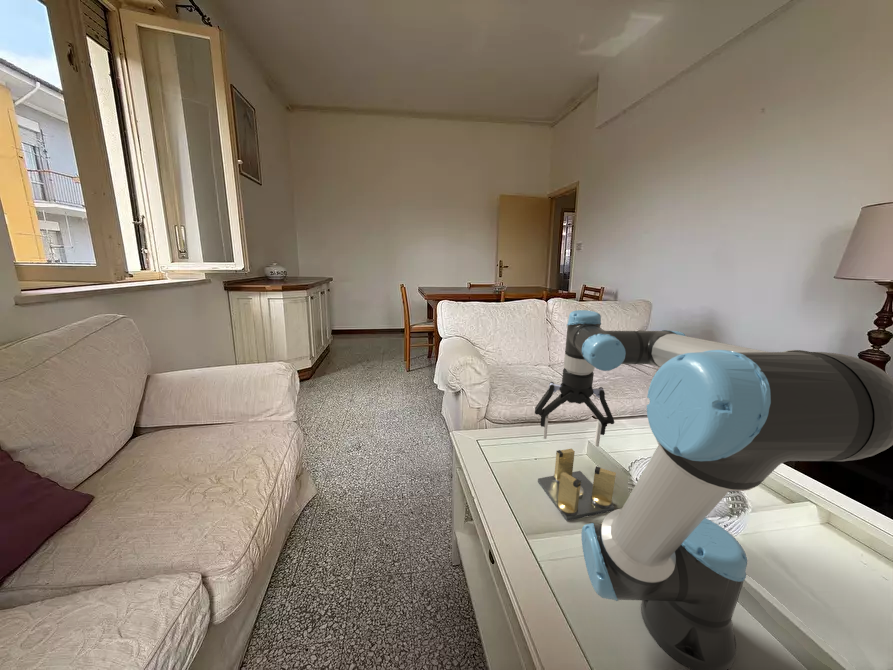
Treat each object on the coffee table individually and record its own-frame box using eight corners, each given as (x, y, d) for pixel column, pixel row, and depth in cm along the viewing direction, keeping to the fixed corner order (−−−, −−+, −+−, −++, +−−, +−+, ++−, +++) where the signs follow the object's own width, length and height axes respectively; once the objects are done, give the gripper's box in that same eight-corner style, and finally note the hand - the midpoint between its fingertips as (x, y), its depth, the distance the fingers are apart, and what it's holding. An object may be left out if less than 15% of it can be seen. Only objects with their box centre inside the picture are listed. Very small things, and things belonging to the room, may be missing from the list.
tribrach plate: (616, 510, 96) (617, 502, 95) (564, 521, 92) (564, 514, 92) (580, 471, 112) (581, 465, 111) (534, 480, 108) (534, 473, 107)
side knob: (610, 508, 94) (614, 479, 92) (590, 501, 97) (594, 473, 94) (612, 496, 99) (616, 468, 96) (593, 490, 101) (596, 462, 99)
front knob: (564, 496, 99) (567, 468, 96) (581, 507, 95) (584, 478, 92) (553, 505, 96) (556, 476, 93) (570, 516, 92) (573, 486, 89)
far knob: (575, 481, 105) (578, 454, 102) (560, 484, 104) (562, 457, 101) (565, 470, 110) (568, 444, 107) (551, 473, 109) (553, 447, 106)
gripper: (627, 368, 89) (616, 438, 95) (530, 360, 96) (525, 426, 102) (634, 380, 82) (621, 455, 89) (528, 370, 89) (523, 440, 95)
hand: (570, 439), depth 95 cm, fingers open, 13 cm apart
